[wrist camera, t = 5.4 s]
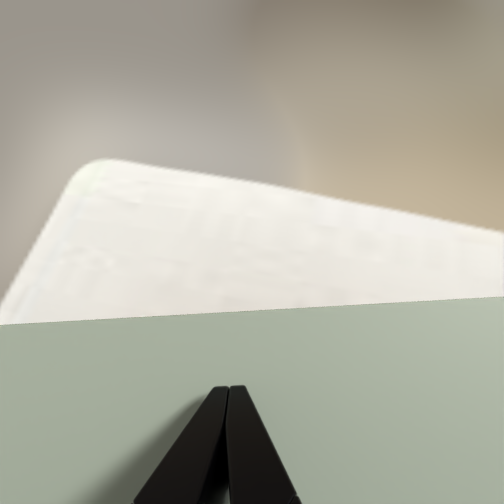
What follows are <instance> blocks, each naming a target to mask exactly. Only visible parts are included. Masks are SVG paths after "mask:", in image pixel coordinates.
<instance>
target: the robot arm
mask: <svg viewBox="0 0 504 504" xmlns="http://www.w3.org/2000/svg"><path fill="white" fill-rule="evenodd" d="M229 497H230V504H302V502H301V500H300V498H299V496H297V492H296V490H295V488H294V486H293V484H292V482H291V479H290V477H289V475H288V473H287V471H286V469H285V467H284V465H283V463H282V461H281V459H280V457H279V454H278V452H277V450H276V448H275V446H274V444H273V442H272V440H271V438H270V436H269V434H268V432H267V429H266V427H265V425H264V423H263V421H262V419H261V417H260V415H259V413H258V411H257V409H256V406H255V404H254V402H253V400H252V398H251V396H250V394H249V392H248V390H247V388H246V386H245V385H232V386H230V388H229V387H228V386H215V387H213V388H212V389H211V391H210V392H209V394H208V395H207V396H206V398H205V399H204V401H203V402H202V403H201V405H200V406H199V408H198V409H197V411H196V412H195V413H194V415H193V416H192V418H191V419H190V420H189V422H188V423H187V425H186V426H185V427H184V429H183V430H182V432H181V433H180V435H179V436H178V437H177V439H176V440H175V442H174V443H173V444H172V446H171V447H170V449H169V450H168V451H167V453H166V454H165V456H164V457H163V459H162V460H161V461H160V463H159V464H158V466H157V467H156V468H155V470H154V471H153V473H152V474H151V475H150V477H149V478H148V480H147V481H146V483H145V484H144V485H143V487H142V488H141V490H140V491H139V492H138V494H137V495H136V497H135V498H134V500H133V503H134V504H228V500H229ZM133 503H131V504H133Z"/></svg>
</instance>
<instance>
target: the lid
mask: <svg viewBox="0 0 504 504" xmlns="http://www.w3.org/2000/svg"><path fill="white" fill-rule="evenodd" d="M232 385H245V386H246V388H247V390H248V392H249V394H250V396H251V398H252V400H253V402H254V404H255V406H256V409H257V411H258V413H259V415H260V417H261V419H262V421H263V423H264V425H265V427H266V429H267V432H268V434H269V436H270V438H271V440H272V442H273V444H274V446H275V448H276V450H277V452H278V454H279V457H280V459H281V461H282V463H283V465H284V467H285V469H286V471H287V473H288V475H289V477H290V479H291V482H292V484H293V486H294V488H295V490H296V492H297V496H299V498H300V500H301V502H302V504H504V297H488V298H471V299H453V300H435V301H417V302H400V303H382V304H364V305H347V306H329V307H311V308H294V309H276V310H258V311H240V312H223V313H205V314H187V315H170V316H152V317H134V318H116V319H99V320H81V321H63V322H46V323H28V324H10V325H0V504H131V503H133V500H134V498H135V497H136V495H137V494H138V492H139V491H140V490H141V488H142V487H143V485H144V484H145V483H146V481H147V480H148V478H149V477H150V475H151V474H152V473H153V471H154V470H155V468H156V467H157V466H158V464H159V463H160V461H161V460H162V459H163V457H164V456H165V454H166V453H167V451H168V450H169V449H170V447H171V446H172V444H173V443H174V442H175V440H176V439H177V437H178V436H179V435H180V433H181V432H182V430H183V429H184V427H185V426H186V425H187V423H188V422H189V420H190V419H191V418H192V416H193V415H194V413H195V412H196V411H197V409H198V408H199V406H200V405H201V403H202V402H203V401H204V399H205V398H206V396H207V395H208V394H209V392H210V391H211V389H212V388H213V387H215V386H228V387H229V388H230V386H232ZM133 504H134V503H133ZM228 504H230V497H229V500H228Z"/></svg>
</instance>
